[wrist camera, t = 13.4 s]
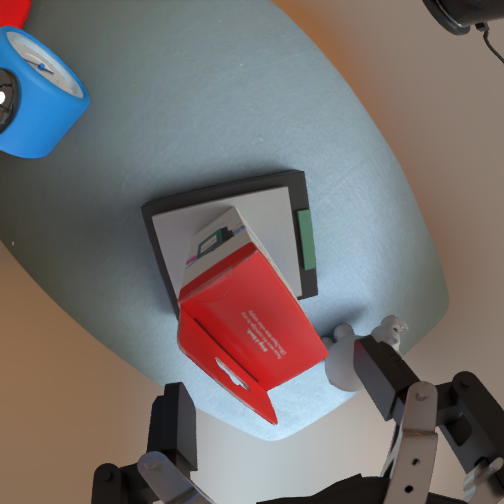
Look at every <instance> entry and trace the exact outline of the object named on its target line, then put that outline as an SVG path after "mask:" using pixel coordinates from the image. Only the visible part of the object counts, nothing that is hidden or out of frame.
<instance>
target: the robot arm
mask: <svg viewBox="0 0 504 504" xmlns="http://www.w3.org/2000/svg"><path fill="white" fill-rule="evenodd" d="M434 1H435V3H436V5H437V6H438V8H439V9H440V10H441V12H442V13H443V14H444V15H445V16H446V17H447V18H448V19H449V20H450V21H451V22H452V23H453V24H455V25H456V26H458V27H460V28H464V27H467V26H470V25H474V24H475V26H476V28H477V30H479V31H485V32H484V35H483V37H484V40H485V42H486V44H487V46H488V47H489V48H490V50H491V51H492V52H493V53H494V54H495V55H496V56H497V57H498V58H499V59H500V60H501V61H502V62H503V63H504V59H503V58H502V57H501V56H500V55H499V54H498V53H497V52H496V51H495V50H494V49H493V47H492V46H491V45H490V44H489V41H488V39H487V37H488V30H489V27H488V24H487V22H488V21H493V20H498V19H503V18H504V0H434ZM353 367H354V370H355V372H356V374H357V376H358V377H359V379H360V381H361V382H362V384H363V385H364V387H365V389H366V390H367V392H368V393H369V395H370V396H371V398H372V400H373V402H374V403H375V405H376V406H377V408H378V410H379V411H380V413H381V414H382V416H383V418H384V420H385V421H388V420H390V419H392V418H393V419H394V420H395V422H396V424H395V427H394V431H393V436H392V440H391V444H390V448H389V452H388V455H387V459H386V461H385V464H384V466H383V469H382V472H381V475H380V477H377V476H375V477H374V476H370V477H362V476H361V474H357V475H355V476H352V477H349V478H347V479H344V480H341V481H338V482H336V483H334V484H332V485H331V486H329V487H327V488H325V489H324V490H322V491H320V492H318V493H316V494H315V495H312V496H307V497H285V498H278V499H273V500H268V501H263V502H257V503H256V504H497V503H498V502H499V501H500V500H501V499H503V498H504V411H503V409H502V408H501V406H500V405H499V404H498V403H497V402H496V400H495V399H494V398H493V396H492V395H491V394H490V393H489V392H488V391H487V389H486V388H485V386H483V384H482V383H481V382H480V380H479V379H478V378H477V377H476V376H475V375H474V374H473V373H471V372H468V371H463V372H459V373H457V374H456V375H455V376H454V378H453V380H452V382H448V383H444V384H440V385H433V384H431V383H429V382H426V381H420V380H419V378H418V377H417V376H416V375H415V374H414V372H413V371H412V370H411V369H410V367H409V366H408V365H407V364H406V363H405V361H404V360H402V358H401V357H400V355H399V354H397V352H396V351H395V350H394V348H393V347H392V346H391V345H389V344H387V343H385V342H384V341H381V342H377V341H376V340H375V339H374V338H373V336H372V335H367V336H364V337H361V338H358V339H356V340H355V341H354V353H353ZM150 422H151V423H150V427H149V435H148V445H147V451H146V453H145V454H144V455H142V456H141V458H140V459H139V461H138V462H137V463H135V464H132V465H128V466H124V467H120V468H118V467H117V466H115V465H114V464H111V463H105V464H102V465H100V466H99V467H98V468H97V469H96V470H95V473H94V479H93V488H92V500H91V504H153V502H155V501H159V500H161V501H162V502H163V503H164V504H216V503H215V502H214V501H213V500H212V499H210V497H208V496H207V495H206V494H205V493H204V492H203V491H202V490H201V489H200V488H199V487H198V486H197V485H195V483H194V482H193V481H192V480H191V479H190V471H197V470H198V468H197V445H196V410H195V406H194V403H193V400H192V399H191V397H190V395H189V393H188V391H187V390H186V388H185V386H184V384H183V383H182V382H177V383H170V384H166V385H165V390H164V395H163V396H157V398H156V399H155V401H154V403H153V405H152V411H151V419H150ZM437 426H439V428H440V430H441V431H442V433H443V435H444V436H445V438H446V440H447V441H448V443H449V445H450V446H451V448H452V450H453V451H454V453H455V455H456V456H457V458H458V460H459V461H460V463H461V465H462V467H463V469H464V471H465V473H466V474H467V475H466V477H465V479H464V482H463V490H464V491H465V497H464V500H459V499H455V498H450V497H446V496H442V495H438V494H434V493H431V492H428V491H429V487H430V482H431V477H432V473H433V468H434V462H435V456H436V450H437V442H438V434H437V433H435V427H437Z"/></svg>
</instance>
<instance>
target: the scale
mask: <svg viewBox="0 0 504 504" xmlns="http://www.w3.org/2000/svg"><path fill="white" fill-rule="evenodd" d="M234 206H235V207H237V209H238V210H239V211H240V213H241V214H242V216H243V217H244V218H245V220H246V221H247V223H248V224H249V226H250V227H251V228H252V230H253V231H254V233H255V234H256V236H257V237H258V238H259V240H260V241H261V243H262V244H263V246H264V247H265V249H266V250H267V252H268V253H269V254H270V256H271V257H272V259H273V260H274V262H275V263H276V265H277V266H278V268H279V269H280V270H281V272H282V273H283V275H284V276H285V278H286V280H287V282H288V284H289V285H290V287H291V289H292V291H293V292H294V294H295V296H296V298H297V299H298V300H301V299H305V298H309V297H313V296H316V295H318V287H317V275H316V259H315V249H314V239H313V230H312V221H311V213H310V209H309V201H308V194H307V187H306V180H305V173H304V171H300V170H291V171H285V172H279V173H274V174H268V175H263V176H257V177H252V178H247V179H242V180H237V181H232V182H228V183H223V184H218V185H214V186H209V187H205V188H201V189H197V190H192V191H188V192H184V193H180V194H176V195H172V196H168V197H164V198H161V199H157V200H153V201H150V202H146V203H145V204H144V205H143V206H141V211H142V214H143V218H144V222H145V225H146V229H147V232H148V235H149V239H150V242H151V245H152V249H153V252H154V255H155V258H156V261H157V264H158V267H159V270H160V273H161V276H162V279H163V282H164V285H165V288H166V291H167V294H168V296H169V299H170V302H171V305H172V307H173V310H174V313H175V315H176V318H177V320H178V321H179V313H180V308H179V306H178V298H179V293H180V288H181V284H182V279H183V275H184V270H185V265H186V260H187V256H188V251H189V247H190V242H191V238H192V237H193V236H194V235H195V234H197V233H198V232H199V231H201V230H202V229H204V228H205V227H206V226H208V225H209V224H210V223H212V222H213V221H214V220H216V219H217V218H218V217H220V216H221V215H222V214H224V213H225V212H226V211H228V210H229V209H231V208H232V207H234Z"/></svg>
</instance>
